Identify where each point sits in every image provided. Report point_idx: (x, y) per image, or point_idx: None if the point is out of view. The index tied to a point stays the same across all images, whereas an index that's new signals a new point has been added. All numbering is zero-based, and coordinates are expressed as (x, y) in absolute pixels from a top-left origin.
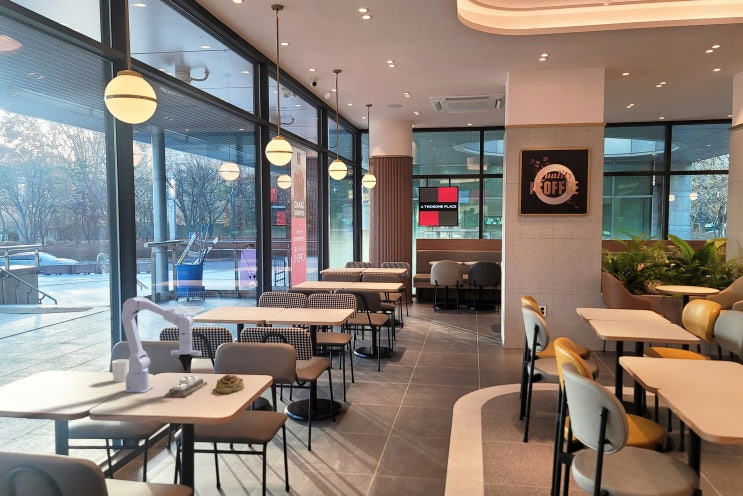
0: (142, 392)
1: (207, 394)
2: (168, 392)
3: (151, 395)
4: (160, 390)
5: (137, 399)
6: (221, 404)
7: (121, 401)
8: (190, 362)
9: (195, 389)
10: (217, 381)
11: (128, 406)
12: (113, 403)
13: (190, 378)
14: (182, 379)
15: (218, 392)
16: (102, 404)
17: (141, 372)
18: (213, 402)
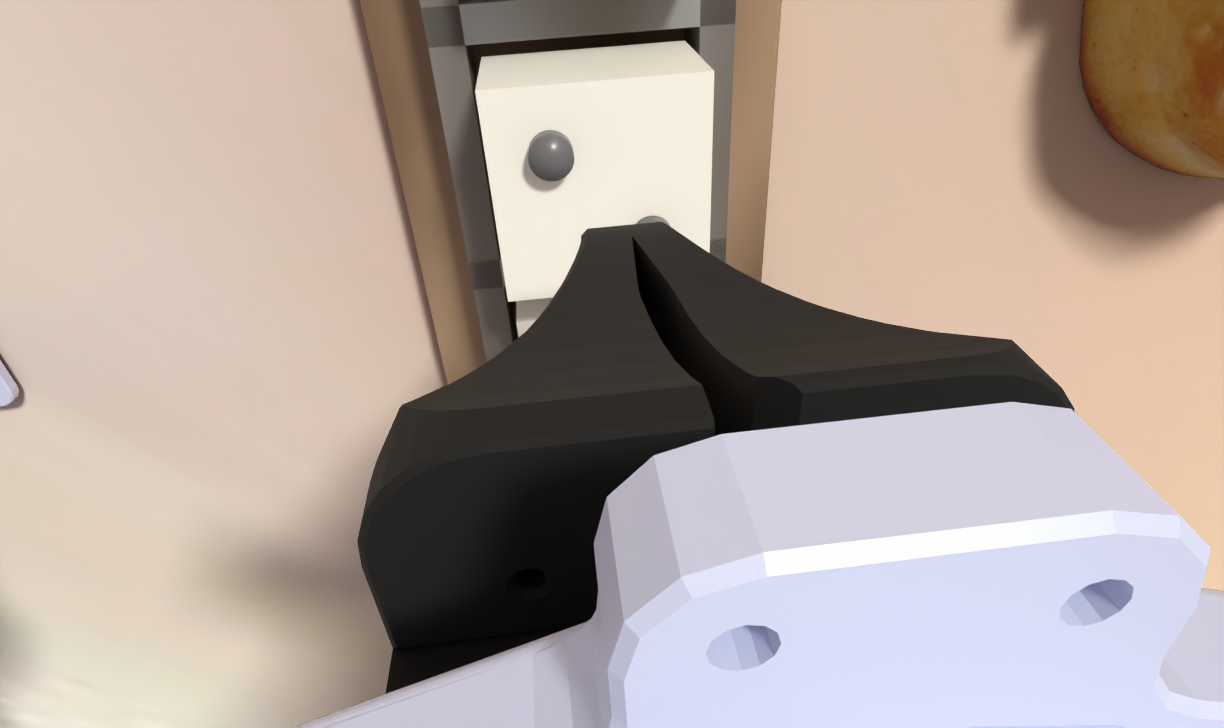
0: (11, 399)
1: (991, 229)
2: (448, 379)
3: (246, 433)
4: (145, 224)
5: (224, 564)
6: (1207, 468)
7: (120, 637)
8: (773, 298)
9: (768, 151)
10: None
11: (339, 691)
12: (109, 684)
13: (689, 174)
14: (561, 278)
15: (1158, 165)
16: (36, 719)
17: None
18: (1118, 444)
